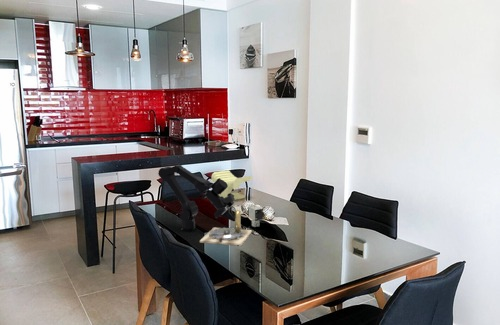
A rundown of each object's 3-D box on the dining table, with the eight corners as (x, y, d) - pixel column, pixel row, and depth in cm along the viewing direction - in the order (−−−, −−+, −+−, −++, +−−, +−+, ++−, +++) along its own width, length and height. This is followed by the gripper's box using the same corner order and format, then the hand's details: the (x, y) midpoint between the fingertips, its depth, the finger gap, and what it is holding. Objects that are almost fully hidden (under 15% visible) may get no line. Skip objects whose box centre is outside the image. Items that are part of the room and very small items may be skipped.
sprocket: (204, 232, 217) (203, 210, 215) (235, 227, 225) (235, 206, 223) (217, 243, 201) (216, 219, 199) (250, 237, 209) (250, 214, 207)
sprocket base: (199, 242, 205) (199, 236, 205) (213, 229, 226) (213, 224, 226) (241, 245, 200) (241, 240, 199) (251, 231, 221) (251, 226, 221)
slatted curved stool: (211, 195, 307) (211, 172, 304) (229, 192, 316) (229, 170, 313) (233, 203, 283) (233, 178, 280) (252, 200, 292) (251, 175, 289)
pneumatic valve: (256, 229, 225) (256, 208, 223) (247, 223, 235) (247, 204, 234) (265, 228, 228) (265, 207, 226) (255, 222, 238) (255, 202, 236)
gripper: (219, 193, 206) (240, 215, 205) (230, 186, 224) (249, 206, 223) (205, 207, 209) (225, 229, 208) (217, 199, 227) (236, 219, 226)
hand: (235, 220), depth 216 cm, fingers closed
